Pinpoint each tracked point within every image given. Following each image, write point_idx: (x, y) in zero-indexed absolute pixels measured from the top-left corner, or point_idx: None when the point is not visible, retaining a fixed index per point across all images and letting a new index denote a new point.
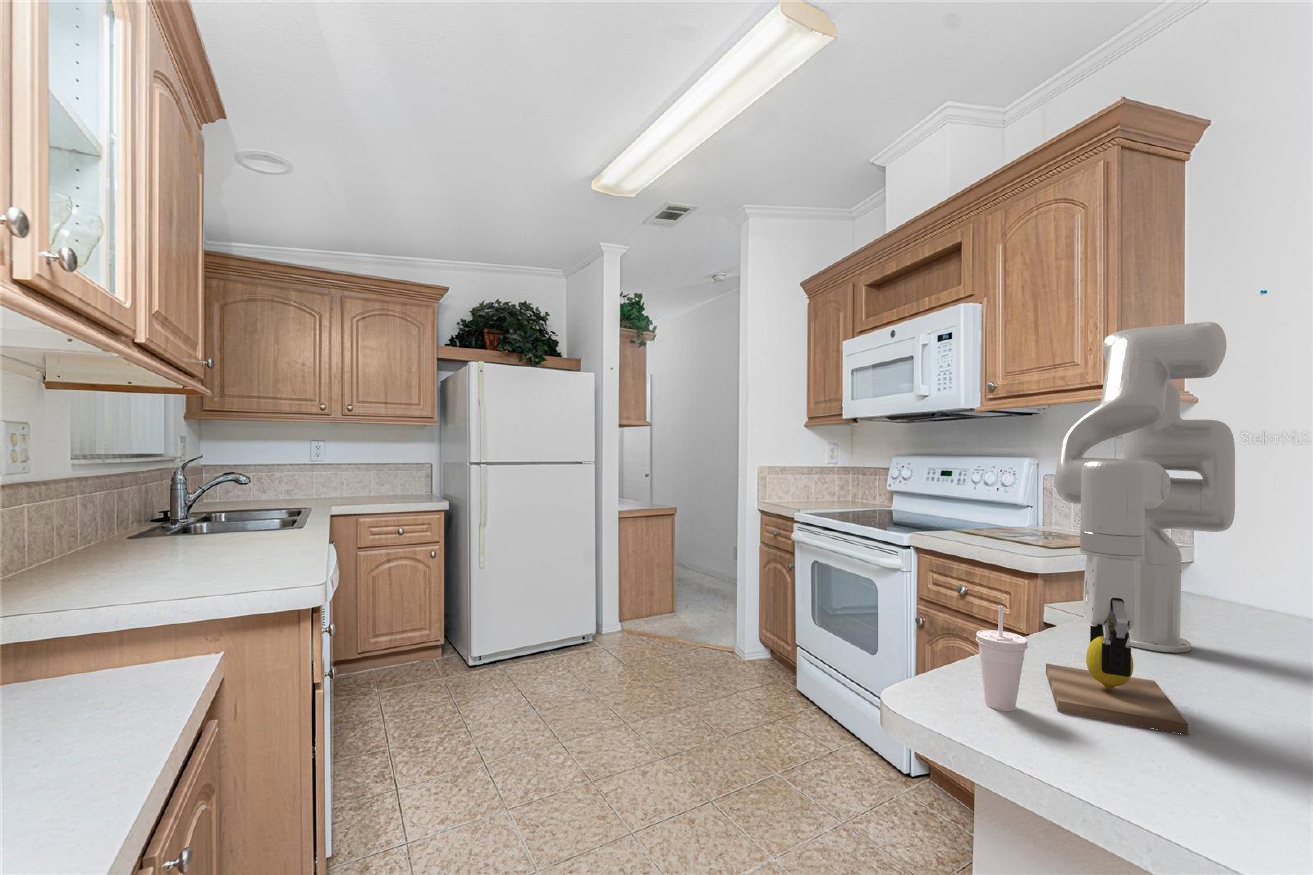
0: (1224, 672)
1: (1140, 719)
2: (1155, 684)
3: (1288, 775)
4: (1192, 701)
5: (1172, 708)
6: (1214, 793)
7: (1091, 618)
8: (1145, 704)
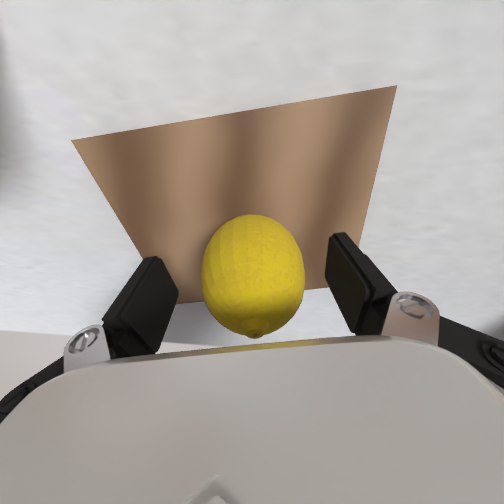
0: None
1: None
2: (327, 285)
3: None
4: (318, 301)
5: None
6: (22, 299)
7: (29, 414)
8: None
